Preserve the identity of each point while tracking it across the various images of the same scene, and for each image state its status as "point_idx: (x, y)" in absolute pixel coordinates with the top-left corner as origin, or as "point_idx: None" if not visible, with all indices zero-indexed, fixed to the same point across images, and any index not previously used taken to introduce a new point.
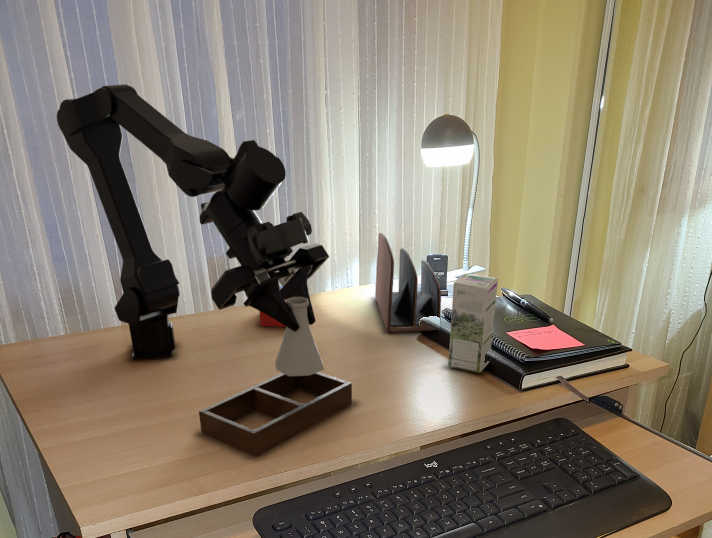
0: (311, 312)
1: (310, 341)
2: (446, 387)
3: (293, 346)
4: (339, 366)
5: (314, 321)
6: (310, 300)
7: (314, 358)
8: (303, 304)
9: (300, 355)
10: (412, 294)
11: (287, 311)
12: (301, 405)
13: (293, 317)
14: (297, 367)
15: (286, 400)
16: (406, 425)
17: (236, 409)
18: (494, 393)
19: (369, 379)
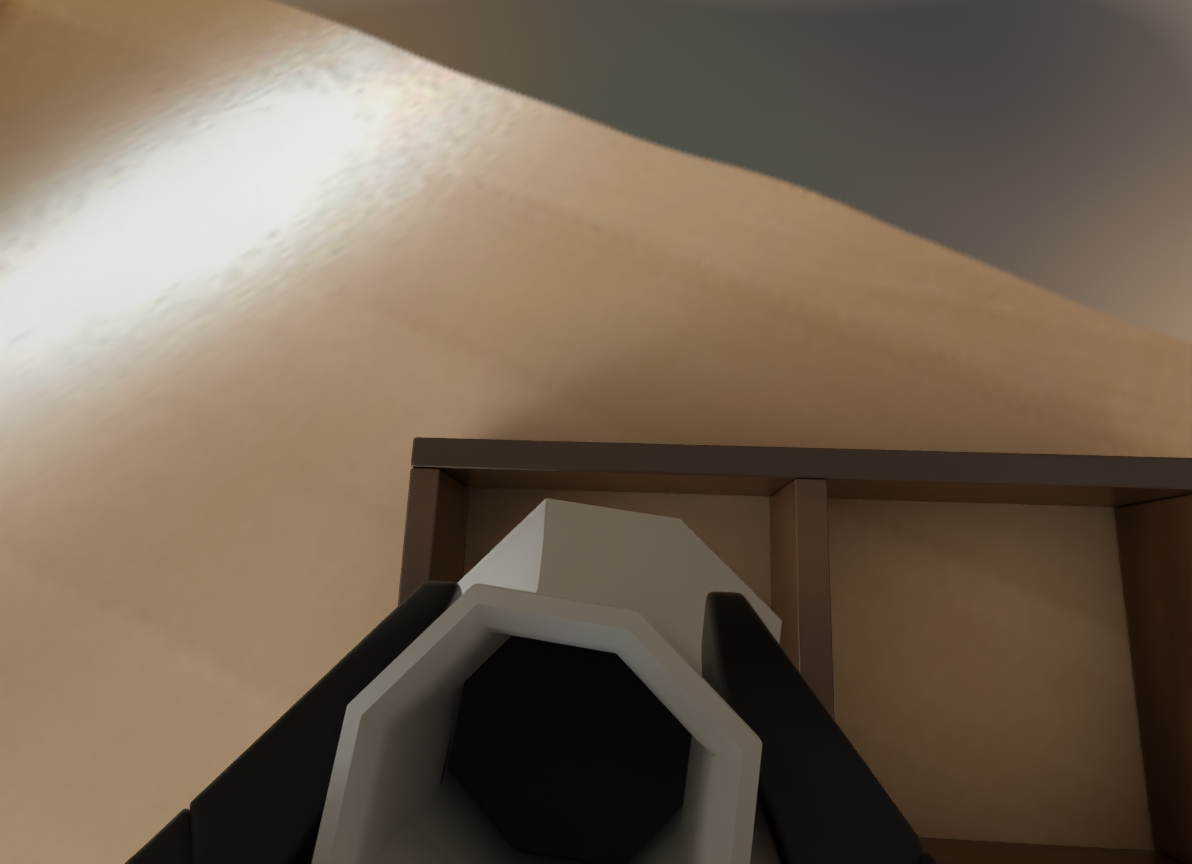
0: (399, 643)
1: (581, 563)
2: (58, 227)
3: None
4: (69, 821)
5: (446, 582)
6: (235, 761)
7: (599, 527)
8: (598, 608)
9: (699, 586)
10: None
11: (845, 763)
12: (811, 480)
13: (756, 679)
14: (733, 587)
15: (822, 589)
16: (484, 162)
17: (969, 859)
18: (23, 51)
19: (147, 569)
